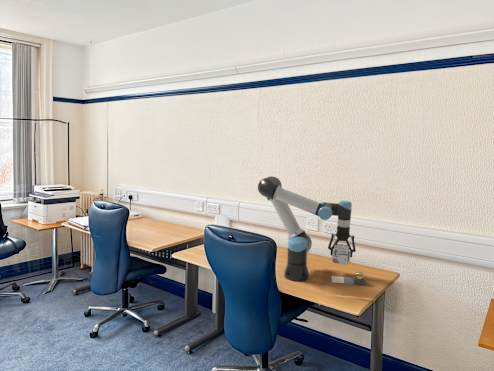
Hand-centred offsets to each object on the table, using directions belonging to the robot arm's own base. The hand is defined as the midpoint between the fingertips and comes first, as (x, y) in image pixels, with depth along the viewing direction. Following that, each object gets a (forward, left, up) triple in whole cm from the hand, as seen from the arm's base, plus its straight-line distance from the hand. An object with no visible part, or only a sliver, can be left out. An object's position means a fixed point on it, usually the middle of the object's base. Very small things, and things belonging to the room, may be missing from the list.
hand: (340, 261), depth 235 cm
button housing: (+10, -15, -8) cm, 19 cm away
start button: (+10, -15, -7) cm, 19 cm away
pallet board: (+4, -12, -9) cm, 15 cm away
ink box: (0, 0, -1) cm, 1 cm away
